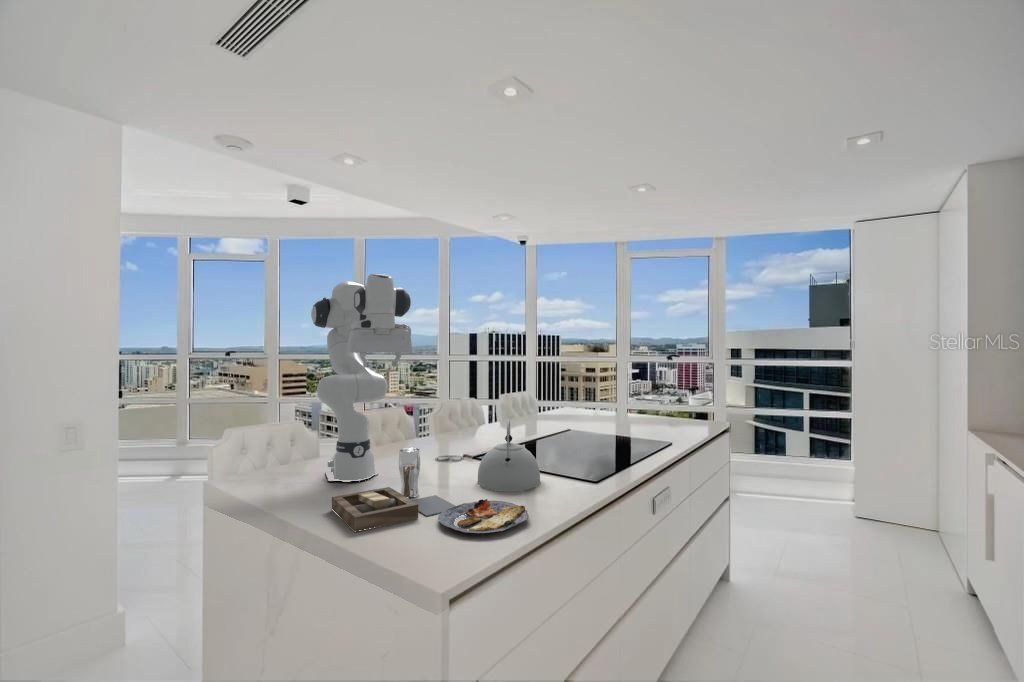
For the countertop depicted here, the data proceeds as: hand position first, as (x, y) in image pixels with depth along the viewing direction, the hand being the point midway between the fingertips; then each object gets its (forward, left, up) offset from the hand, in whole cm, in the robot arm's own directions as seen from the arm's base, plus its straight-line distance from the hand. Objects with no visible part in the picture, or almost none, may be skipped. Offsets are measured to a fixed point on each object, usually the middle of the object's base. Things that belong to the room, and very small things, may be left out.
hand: (380, 366), depth 158 cm
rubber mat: (+14, +10, -43) cm, 46 cm away
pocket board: (+11, -7, -43) cm, 45 cm away
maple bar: (+11, -7, -38) cm, 40 cm away
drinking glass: (0, +9, -43) cm, 44 cm away
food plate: (+35, +16, -43) cm, 58 cm away
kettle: (+7, +44, -43) cm, 62 cm away
